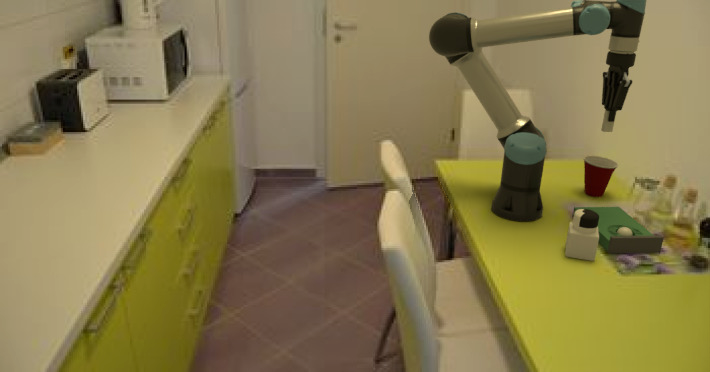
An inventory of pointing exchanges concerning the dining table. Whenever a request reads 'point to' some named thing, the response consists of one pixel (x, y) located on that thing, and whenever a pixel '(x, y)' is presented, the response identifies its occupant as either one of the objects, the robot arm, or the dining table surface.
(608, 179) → the plastic cup
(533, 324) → the dining table surface
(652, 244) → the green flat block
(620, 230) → the ball
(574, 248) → the medicine bottle
